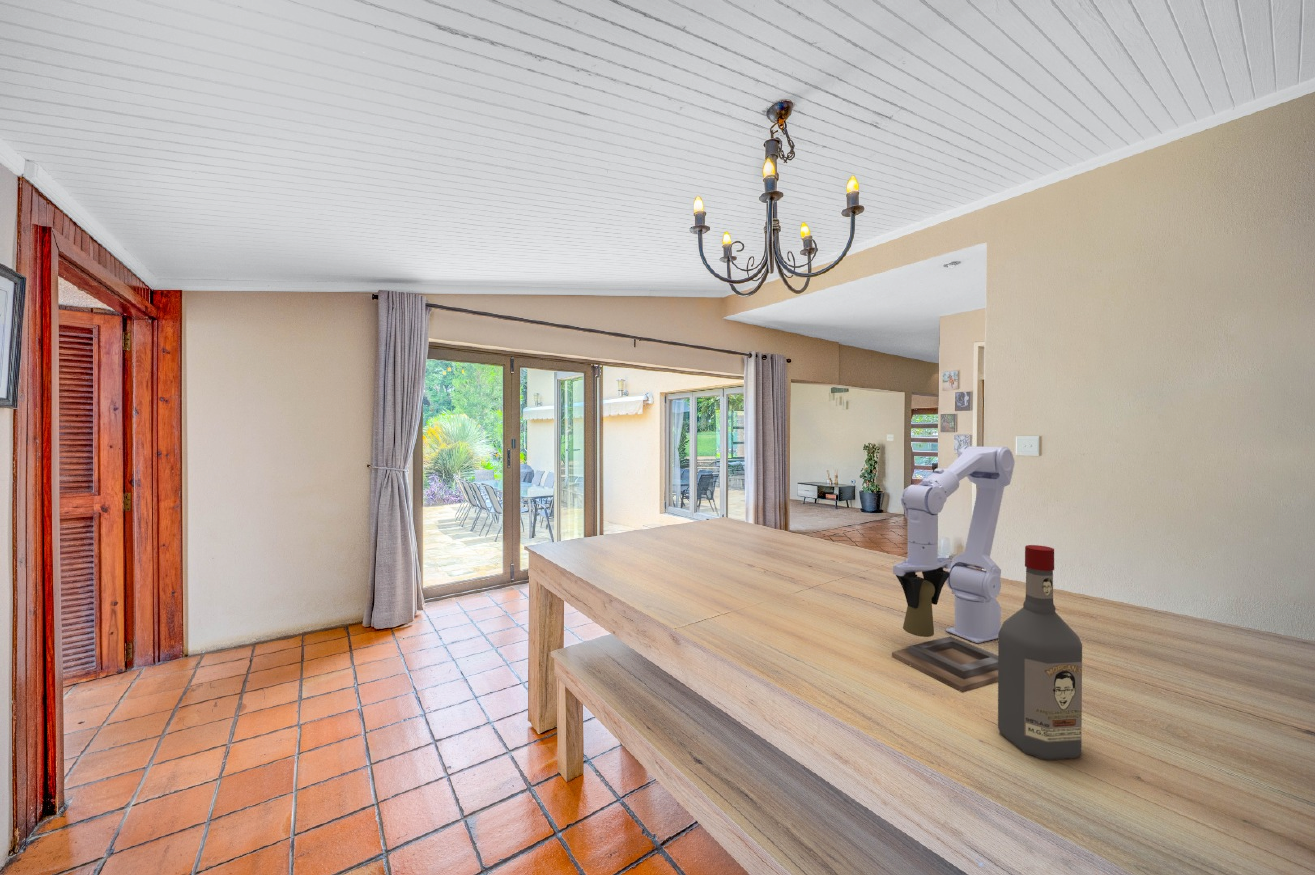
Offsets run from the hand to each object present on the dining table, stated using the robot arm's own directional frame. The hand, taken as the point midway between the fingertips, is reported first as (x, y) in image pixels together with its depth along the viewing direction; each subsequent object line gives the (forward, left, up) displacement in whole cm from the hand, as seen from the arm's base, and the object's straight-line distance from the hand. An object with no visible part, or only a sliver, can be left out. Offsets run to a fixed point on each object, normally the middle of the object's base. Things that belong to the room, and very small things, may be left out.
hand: (922, 605), depth 111 cm
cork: (0, -1, -6) cm, 6 cm away
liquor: (+10, +30, -11) cm, 33 cm away
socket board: (-2, +7, -10) cm, 12 cm away
